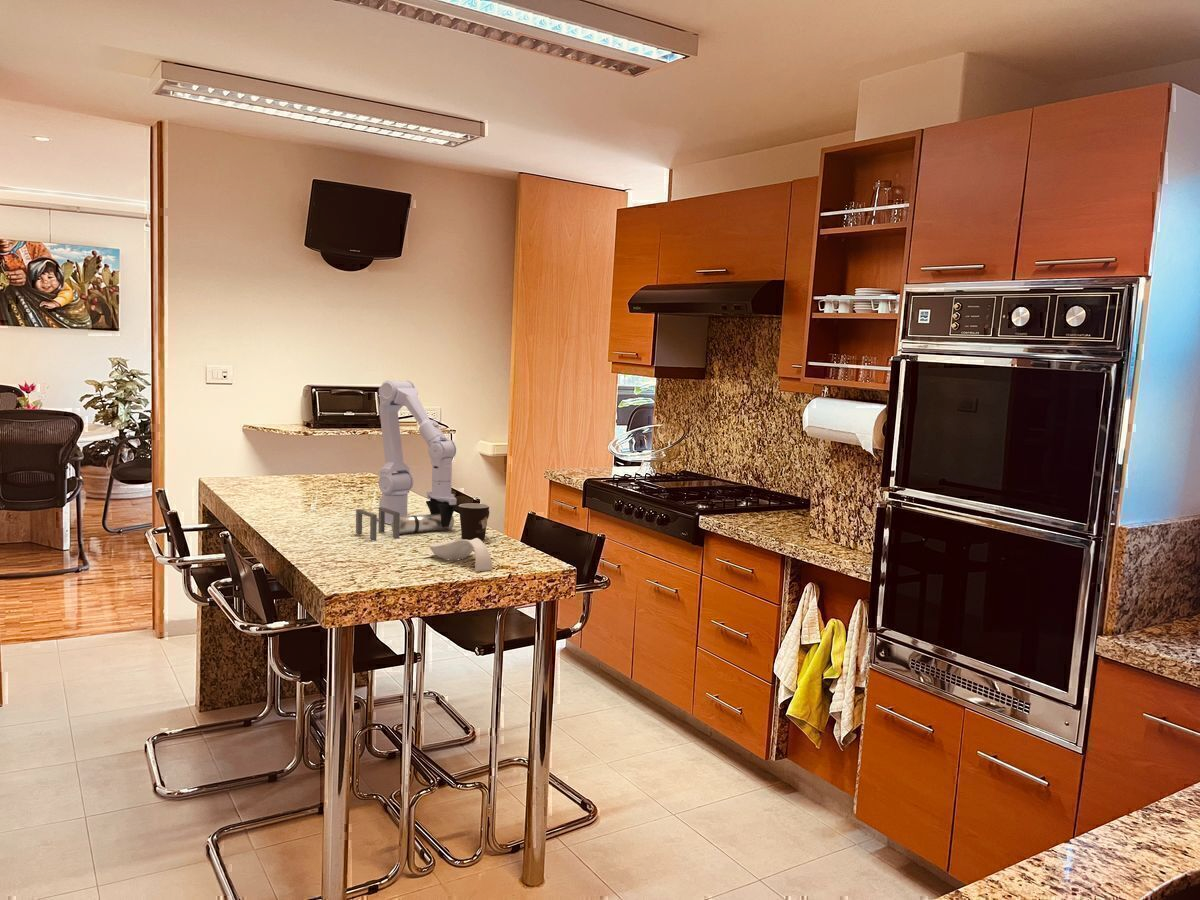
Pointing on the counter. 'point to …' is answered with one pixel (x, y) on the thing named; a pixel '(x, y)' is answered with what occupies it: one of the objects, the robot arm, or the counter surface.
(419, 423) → the robot arm
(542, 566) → the counter surface
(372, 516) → the collar
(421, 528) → the tube
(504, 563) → the counter surface
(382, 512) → the collar
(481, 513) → the coffee mug
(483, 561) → the spoon rest
